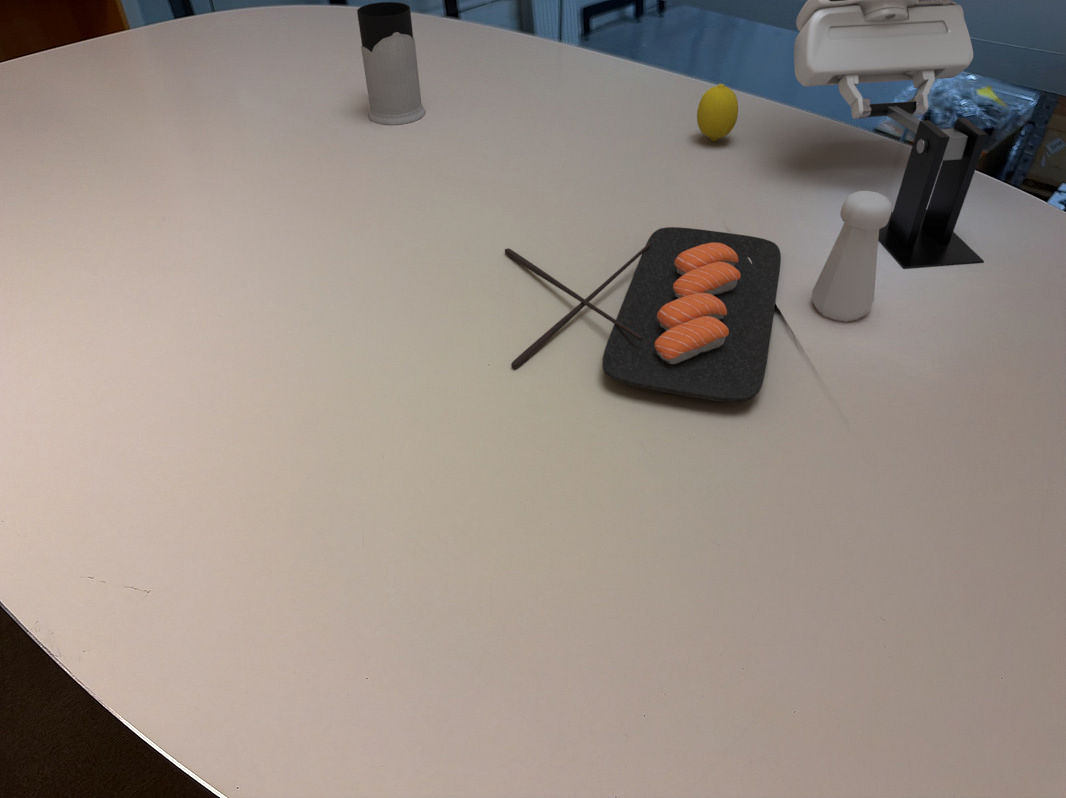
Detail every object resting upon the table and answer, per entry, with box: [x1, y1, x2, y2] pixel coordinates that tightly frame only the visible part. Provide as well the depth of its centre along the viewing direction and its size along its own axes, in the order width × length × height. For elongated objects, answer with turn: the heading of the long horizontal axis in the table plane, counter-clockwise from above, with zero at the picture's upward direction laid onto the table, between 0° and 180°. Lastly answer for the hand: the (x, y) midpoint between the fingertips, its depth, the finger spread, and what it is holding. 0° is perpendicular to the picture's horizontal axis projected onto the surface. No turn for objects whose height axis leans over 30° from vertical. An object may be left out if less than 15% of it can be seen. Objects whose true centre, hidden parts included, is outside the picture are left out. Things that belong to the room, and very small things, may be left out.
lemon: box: [696, 83, 739, 142], centre depth 112 cm, size 6×6×8 cm
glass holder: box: [356, 1, 426, 126], centre depth 122 cm, size 9×14×15 cm, turn 30°
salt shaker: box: [811, 190, 893, 323], centre depth 77 cm, size 6×6×13 cm
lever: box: [867, 101, 968, 162], centre depth 89 cm, size 15×6×2 cm, turn 7°
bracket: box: [878, 117, 988, 270], centre depth 87 cm, size 12×9×14 cm
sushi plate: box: [504, 226, 782, 403], centre depth 82 cm, size 29×30×4 cm
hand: (890, 115), depth 94 cm, fingers closed on lever, 5 cm apart
